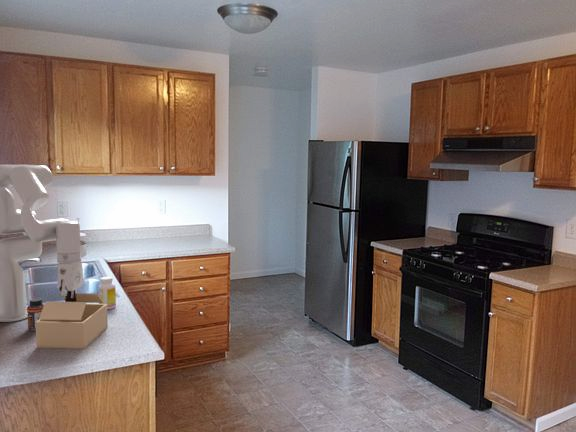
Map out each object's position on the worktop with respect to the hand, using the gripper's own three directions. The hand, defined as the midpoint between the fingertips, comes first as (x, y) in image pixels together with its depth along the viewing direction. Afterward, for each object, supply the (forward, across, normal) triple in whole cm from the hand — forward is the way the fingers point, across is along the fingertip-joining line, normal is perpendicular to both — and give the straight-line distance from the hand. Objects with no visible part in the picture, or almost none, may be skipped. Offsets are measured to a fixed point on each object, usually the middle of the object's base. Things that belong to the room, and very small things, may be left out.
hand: (71, 308), depth 164 cm
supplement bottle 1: (+11, +8, +17) cm, 22 cm away
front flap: (-1, -6, 0) cm, 6 cm away
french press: (+11, +132, +56) cm, 144 cm away
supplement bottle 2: (+11, +34, +1) cm, 36 cm away
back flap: (-1, +8, 0) cm, 8 cm away
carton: (+11, +1, 0) cm, 11 cm away
